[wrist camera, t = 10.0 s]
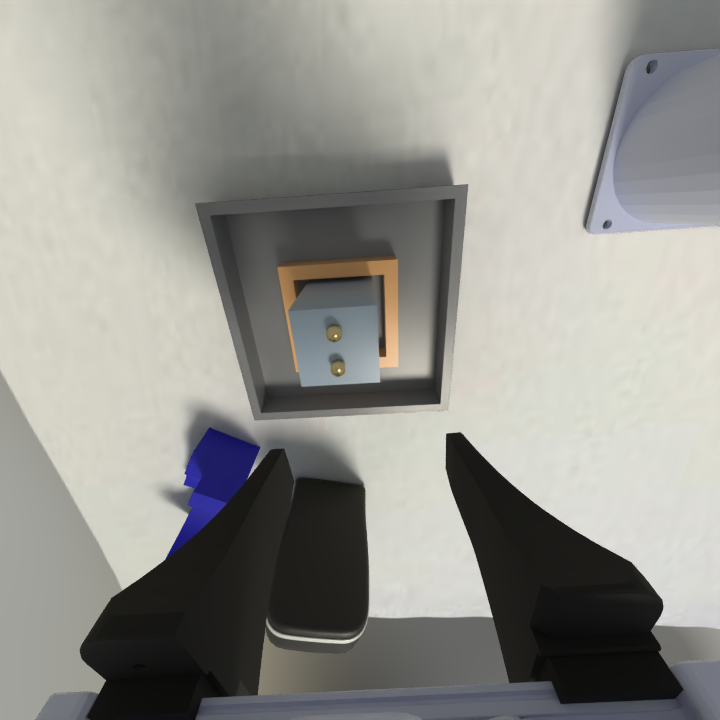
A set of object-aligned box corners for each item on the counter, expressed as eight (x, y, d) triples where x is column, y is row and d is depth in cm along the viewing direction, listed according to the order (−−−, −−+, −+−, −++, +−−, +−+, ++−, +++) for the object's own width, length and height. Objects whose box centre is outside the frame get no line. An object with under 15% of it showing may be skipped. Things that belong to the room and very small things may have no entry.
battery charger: (290, 501, 30) (254, 656, 19) (294, 474, 28) (256, 628, 18) (360, 510, 30) (361, 665, 20) (368, 484, 28) (373, 638, 18)
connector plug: (371, 275, 19) (377, 308, 13) (374, 333, 21) (381, 387, 15) (309, 279, 19) (285, 314, 13) (317, 337, 21) (299, 392, 15)
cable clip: (210, 426, 26) (171, 484, 20) (260, 445, 27) (235, 506, 21) (176, 509, 30) (137, 573, 25) (220, 523, 31) (191, 588, 26)
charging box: (454, 187, 17) (468, 184, 15) (440, 391, 24) (448, 410, 22) (215, 204, 18) (195, 203, 16) (264, 400, 24) (254, 420, 22)
